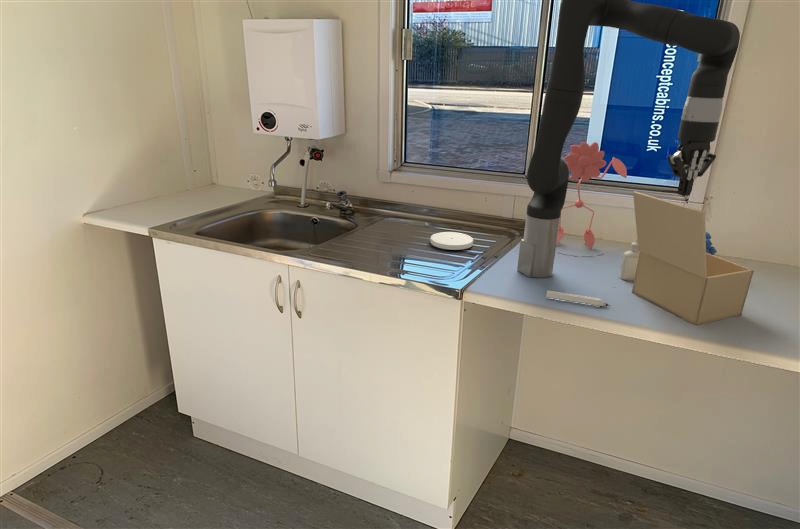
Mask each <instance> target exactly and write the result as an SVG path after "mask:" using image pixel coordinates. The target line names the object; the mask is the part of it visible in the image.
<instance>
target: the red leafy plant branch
mask: <svg viewBox="0 0 800 529" xmlns="http://www.w3.org/2000/svg"><path fill="white" fill-rule="evenodd" d="M569 148H570V152H571V153H568V154H567V155H566V156H564V158H563V159H564V160H563V161H564V162H565V163H566V164H567V166H568V170H569V172H571V173H570V174H571V175H569V179H570V178H571V179H572V180H574V181H575V180H578V179H579V178H580V179H579V181H578V182H577V183H576V184H577V185H576V186H577V187H576V188H577V194H578V196H577V197H578V199H576V200H575V203H574V204H571V205H568V206H565V207H564V206H563V208H562V210H563V209H567V208H570V207H574V206H575V207H576V208H578V209H581V208H583V207H584V208H585V209H587V210H589V211H591V212H592V216H591V219H590V223H589V227H588V228H586V229H585V230H584V233H583V240H584V245H585V244H586V245H587V247H588V248H590V250H592V249H593V247H594V244H595V234H594V233H593V231H592V230H591V226H592V222H593V217H594V214H595V211H594V210H593V209H590V208H589V207H587V206H586V205H584V201H583V200H582V199H581V192H580V191H581V190H580V184H581V182H582V180H583V181H585V182H588V181H590V180H591V178H592V179H598V180H602V179H603V178H604V177H605V175H606V174H607V172H608V170H609V169H610V167H611V166H612V167H613V169H614V171H615V172H616V174H618V175H619V176H621V177H622V178H624V179H627V177H628V175H627V174H628V171H627V168H626V167H627V166H626V165H625V164H624V163H623V161H621V159H619V158H616V157H614V156H613V157H612V160H611V161H610V162H609V164H608V165H607V161H606V160H604V157H605V151H604V150H600V148H599V144H598V142H597V141H595V142H592V143H591V144H590V145H589V143H587V142H585V141H582V142H580V145H578V144H572V145H570V147H569ZM599 150H600V151H599ZM606 165H607V167H606ZM604 167H606V168H605V170H604V172H603V174H601V170H600V169H602V168H604ZM561 220H562V213H561V214H560V222H559V229H558V236H557V243H556V244H558V243H559V242H560V241H561V240H562V239H563V237H564V234H565V230H564V227H563V226H561V225H562V224H561ZM559 254H561V255H562V253H561V252H559ZM563 255H564V256H565V255H566V256H567V254H564V253H563ZM603 255H604V253H602V254H600V255H599V254H598V255H597V257H601V256H603ZM568 256H569V257H570V256H571V257H574V258H575V257H576V258H578V255H570V254H568ZM592 256H593V255H592ZM592 256H591V255H590V256H589V255H588V256H585V255H582V257H581V258H584V257H585V258H587V257H590V258H593V257H592Z"/></svg>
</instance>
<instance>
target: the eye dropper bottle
mask: <svg viewBox="0 0 800 529" xmlns="http://www.w3.org/2000/svg"><path fill="white" fill-rule="evenodd" d="M630 244H631V245H630V250H627V251H625V252H624V253H623V255H622V260H621V265H620V270H619V275H618V277H619V278H620V279H621V280H623V281H629V282H630V281H631V282H632V281H633V282H634V279H635V274H636V269H637V264H638V259H639V254H640V251H639V250H638V240H637V238H635V240H634V242H631V243H630Z"/></svg>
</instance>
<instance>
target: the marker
mask: <svg viewBox="0 0 800 529" xmlns="http://www.w3.org/2000/svg"><path fill="white" fill-rule="evenodd" d="M546 297H547V298H553V299H559V300H565V301H571V302H578V303H585V304H591V305H596V306H604V307H612V305H611V304H608V303H606V302H605V301H603V300H602V299H601V298H598V297H592V296H585V295H581V294H572V293H566V292H559V291H553V290H546V296H545V298H546Z"/></svg>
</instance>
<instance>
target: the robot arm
mask: <svg viewBox="0 0 800 529" xmlns="http://www.w3.org/2000/svg"><path fill="white" fill-rule="evenodd" d="M593 26H594V27H606V28H608V27H609V28H615V29H620V30H622V31H627V32H629V33H632V34H634V35H637V36H640V37H641V38H644V39H648V40H651V41H654V42H658V43H661V44H664V45H669V46H674V47H679V48H682V49H685V50H687V51H690V52H694V53H696V54H699V55H700V57H699V62H698V65H697V68H696V70H695V71H694V72H693V73H692V75H691V78H690V82H689V86H688V92H687V95H686V96H687V97H686V100H685V102H684V106H683V109H682V114H681V118H680V119H681V120H680V124H679V130H678V133H677V134H678V135H677V138H678V140H679V145H678V146H677V148H676V149H677V150H676V152H675V153H673V155H672V154H669V155H668V156H667V161H668V164H669V166H670V168H671V171H672V174H673V176H675V177H677V178H679V181H678V182H679V183H678V188H677V194H678V195H679V196H683V197H688V196H690V195H691V193H692V192H693V186H694V182H695V180H696V179H697V178H698V177H702V176H704V174H705V173H706V172H707V170H708V169H709V168H710V166H711V165H712V163H714V161H715V159H716V158H717V154H714V153H712V152H711V143H713V142H714V141H715V140H716V137H717V132H718V128H719V123H720V121H721V120H720V119H721V115H722V110H723V101H724V95H725V91H726V87H727V82H728V76H729V74H730V71H731V68H732V65H733V63H734V61H735V58H736V54H737V52H738V48H739V44H740V40H741V38H740V37H741V36H740V35H741V34H740V28H738V26H737V25H736V24H735V23H734V22H732V21H731V22H730V21H727V20H724V19H718V18H714V17H709V16H703V15H702V16H701V15H698V14H697V15H696V14H693V13H690V12H688V11H684V10H680V9H678V8H672V7H668V6H664V5H658V4H653V3H651V4H650V3H644V2H643V3H642V2H638V1H637V2H636V1H632V0H560V5H559V13H558V20H557V29H556V31H557V32H556V39H555V40H556V41H555V45H554V46H555V47H554V52H553V56H552V61H551V66H550V67H551V68H550V72H549V77H548V80H547V85H546V88H545V89H546V90H545V96H544V100H543V106H542V112H541V115H540V116H541V117H540V121H539V128H538V132H537V138H536V141H535V146H534V149H533V152H532V155H531V158H530V161H529V165H528V169H527V172H526V180H527V184H528V187H529V188H530V190H531V191H532V192H533V195H532V197H531V199H530V200H529V202H528V204H527V208H526V215H525V216H526V217H525V224H524V231H523V232H524V234H523V238H521V239H520V242H519V251H518V260H517V267H516V269H517V271H518V272H519V273H522V274H523V275H525V276H526V277H528V278H540V279H541V278H548V277H551V276H552V275H553V271H554V262H555V256H556V249H557V244H558V243H557V236H558V229H559V222H560V214H561V215H562V210H563V209H562V208H563V207H564V205H565V202H566V197H567V190H568V186H569V180H570V178H569V176H570V171H569V170H568V166H567V164H566V163H567V162H566V161H565V160H563V159H562V158H561V157H562V154H563V150H564V145H565V142H566V140H567V137H568V135H569V133H570V132H571V129H572V128H573V126H574V123H575V121H576V120H577V117H578V115H579V112H580V109H581V105H582V101H583V96H584V92H585V86H586V68H585V60H584V59H585V58H584V56H585V55H584V54H585V52H584V50H585V43H586V38H587V34H588V30H589V27H593Z"/></svg>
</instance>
